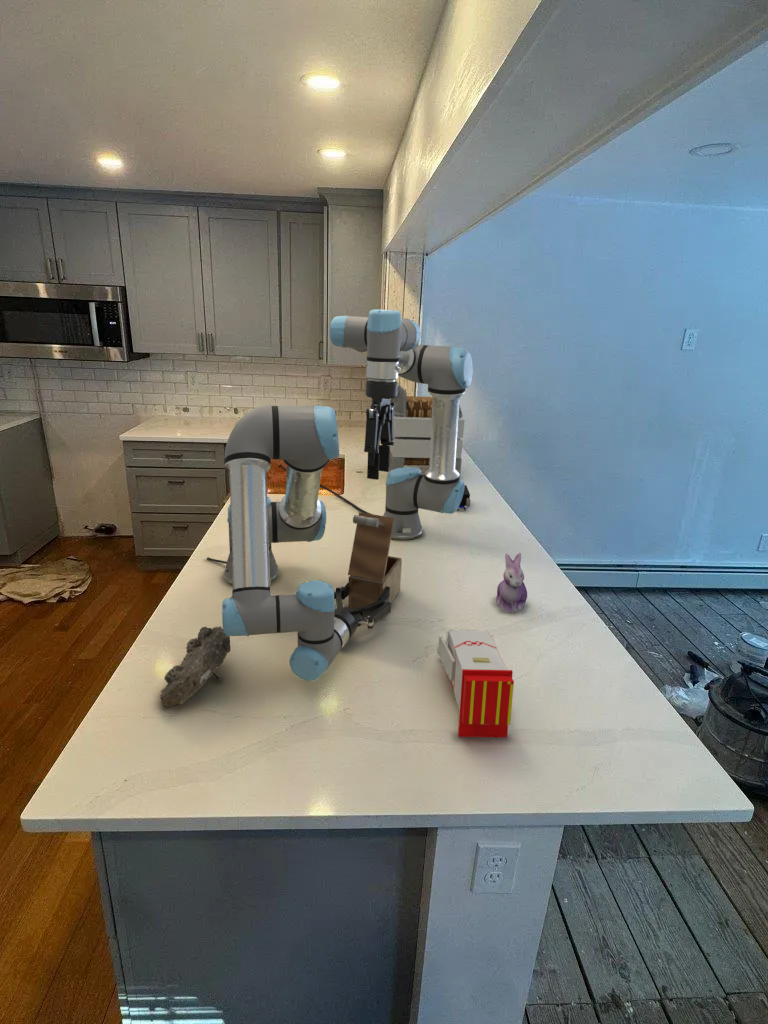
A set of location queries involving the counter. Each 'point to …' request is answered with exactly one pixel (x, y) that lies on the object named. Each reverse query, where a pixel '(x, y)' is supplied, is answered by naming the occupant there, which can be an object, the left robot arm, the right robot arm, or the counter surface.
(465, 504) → the figurine character
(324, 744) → the counter surface
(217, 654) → the fossil
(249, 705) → the counter surface
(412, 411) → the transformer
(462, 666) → the toy
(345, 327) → the right robot arm
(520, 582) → the figurine
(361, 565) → the lid
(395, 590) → the chest
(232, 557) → the left robot arm
